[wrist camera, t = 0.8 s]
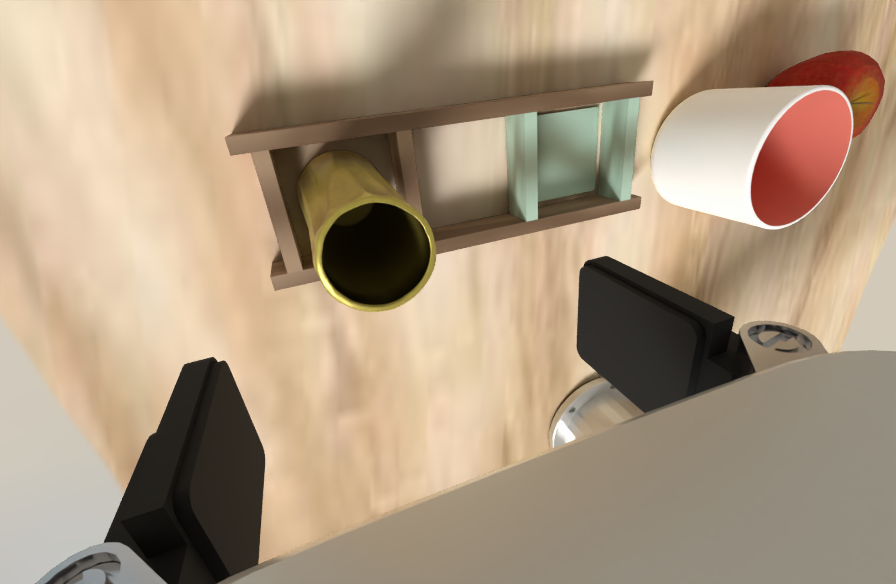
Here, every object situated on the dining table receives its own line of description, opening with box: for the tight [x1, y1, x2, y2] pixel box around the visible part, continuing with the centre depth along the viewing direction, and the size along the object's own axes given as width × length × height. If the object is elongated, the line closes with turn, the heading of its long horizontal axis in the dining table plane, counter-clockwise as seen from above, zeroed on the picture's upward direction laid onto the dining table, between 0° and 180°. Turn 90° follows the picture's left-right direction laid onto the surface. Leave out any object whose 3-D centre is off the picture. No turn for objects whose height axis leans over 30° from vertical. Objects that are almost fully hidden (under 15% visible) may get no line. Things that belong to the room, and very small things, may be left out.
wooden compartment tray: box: [225, 81, 653, 291], centre depth 31 cm, size 10×30×3 cm, turn 95°
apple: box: [767, 50, 885, 138], centre depth 36 cm, size 8×8×8 cm
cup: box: [650, 85, 853, 229], centre depth 34 cm, size 10×10×10 cm
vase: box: [297, 150, 436, 312], centre depth 24 cm, size 6×6×14 cm
